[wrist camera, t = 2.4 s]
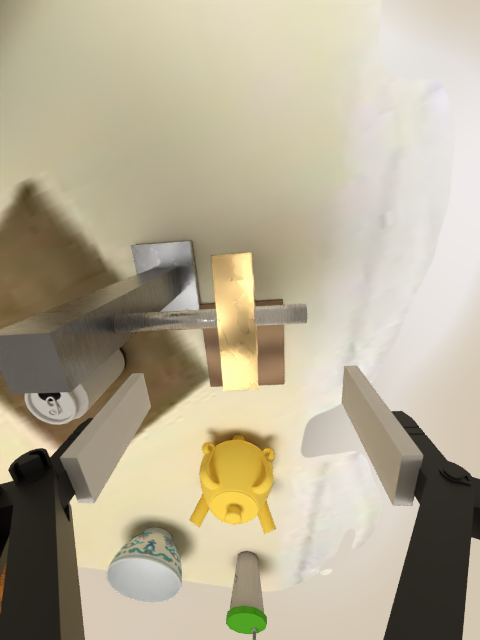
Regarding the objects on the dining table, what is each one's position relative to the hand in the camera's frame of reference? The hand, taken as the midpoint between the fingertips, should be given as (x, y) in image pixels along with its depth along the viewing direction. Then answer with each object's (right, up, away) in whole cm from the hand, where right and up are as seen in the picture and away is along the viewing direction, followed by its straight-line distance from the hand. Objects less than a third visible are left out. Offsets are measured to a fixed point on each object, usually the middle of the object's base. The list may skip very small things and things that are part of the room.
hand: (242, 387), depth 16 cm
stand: (-4, +11, +19) cm, 22 cm away
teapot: (-1, -22, +31) cm, 38 cm away
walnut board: (+1, 0, +23) cm, 23 cm away
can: (-22, -2, +25) cm, 33 cm away
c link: (0, +6, +9) cm, 11 cm away
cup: (+2, -50, +42) cm, 65 cm away
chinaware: (-19, -45, +41) cm, 63 cm away
